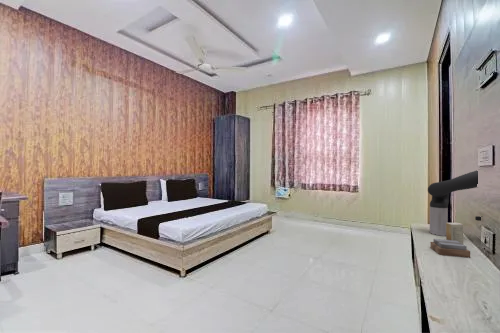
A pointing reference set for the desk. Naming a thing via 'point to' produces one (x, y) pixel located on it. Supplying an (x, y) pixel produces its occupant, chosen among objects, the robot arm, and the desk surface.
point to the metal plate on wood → (449, 248)
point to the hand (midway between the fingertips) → (480, 219)
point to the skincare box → (454, 232)
